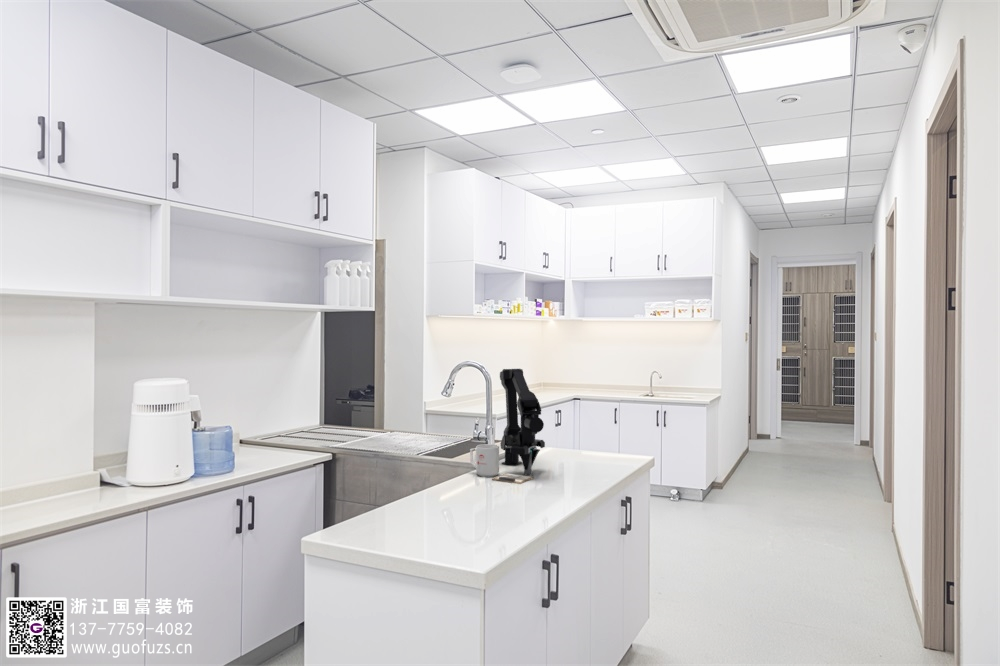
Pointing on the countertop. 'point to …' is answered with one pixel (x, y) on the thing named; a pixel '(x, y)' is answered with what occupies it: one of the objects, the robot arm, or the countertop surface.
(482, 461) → the mug
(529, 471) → the marker
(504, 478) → the clipboard
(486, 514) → the countertop surface
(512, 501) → the countertop surface
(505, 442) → the robot arm
